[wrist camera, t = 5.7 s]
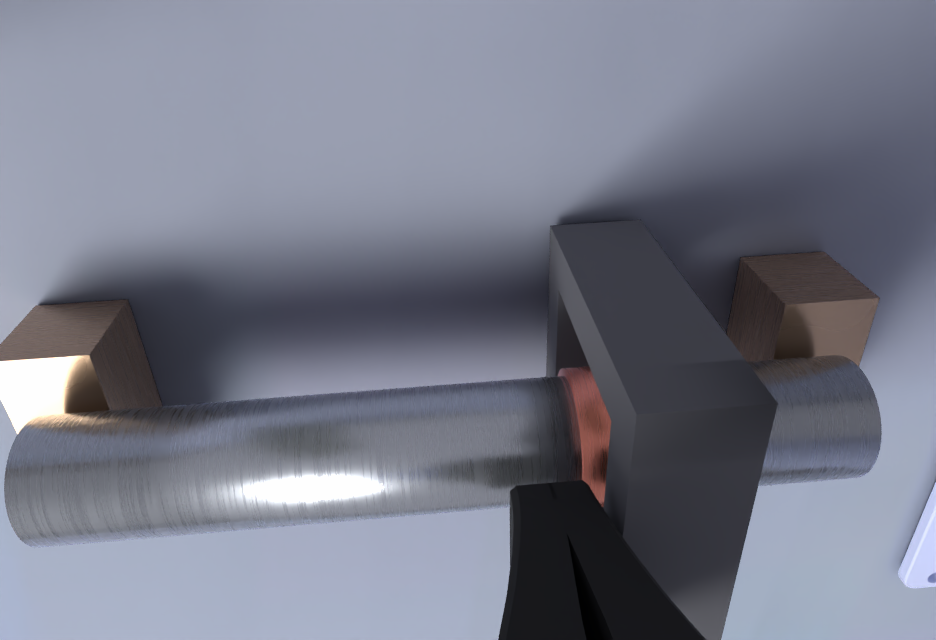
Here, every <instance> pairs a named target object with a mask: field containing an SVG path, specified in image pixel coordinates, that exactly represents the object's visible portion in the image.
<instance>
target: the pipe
mask: <svg viewBox="0 0 936 640" xmlns="http://www.w3.org/2000/svg"><path fill="white" fill-rule="evenodd" d="M879 299H880V298H879V297H878V296H877V295H876V294H874V293H873V292H872V291H871V290H870V289H868V288H867V287H866V286H865V285H863V284H862V283H861V282H860V281H859V280H857V279H856V278H855V277H854V276H853V275H851V274H850V273H849V272H848V271H847V270H845V269H844V268H843V267H842V266H841V265H839V264H838V263H837V262H836V261H835V260H833V259H832V258H831V257H830V256H828V255H827V254H826V253H825V252H812V253H797V254H782V255H768V256H753V257H741V258H740V263H739V269H738V274H737V280H736V285H735V291H734V296H733V302H732V307H731V313H730V318H729V324H728V329H727V336H728V337H729V339H730V340H731V341H732V343H733V344H734V345H735V347H736V348H737V349H738V351H739V352H740V353H741V355H742V356H743V357H744V359H745V360H746V361H747V363H748V364H749V365H750V367H751V368H752V369H753V371H754V372H755V373H756V375H757V376H758V377H759V379H760V380H761V381H762V383H763V384H764V385H765V387H766V388H767V389H768V391H769V392H770V393H771V395H772V396H773V397H774V399H775V400H776V401H777V403H778V405H777V409H776V414H775V418H774V422H773V426H772V430H771V434H770V438H769V443H768V447H767V451H766V455H765V459H764V463H763V467H762V472H761V476H760V480H759V484H758V486H764V485H776V484H788V483H800V482H811V481H823V480H835V479H847V478H857V477H861V476H863V475H865V474H866V473H868V472H869V471H870V470H871V468H872V467H873V465H874V464H875V462H876V459H877V457H878V454H879V450H880V444H881V418H880V412H879V407H878V403H877V400H876V397H875V394H874V391H873V389H872V387H871V385H870V383H869V381H868V379H867V377H866V376H865V374H864V373H863V371H862V370H861V369H860V368H859V364H860V361H861V358H862V355H863V351H864V348H865V345H866V342H867V338H868V335H869V332H870V328H871V325H872V322H873V319H874V315H875V312H876V309H877V306H878V302H879ZM0 398H1V400H2V402H3V405H4V407H5V409H6V411H7V413H8V415H9V417H10V419H11V421H12V424H13V426H14V428H15V430H16V432H17V434H18V435H17V437H16V439H15V441H14V443H13V445H12V448H11V450H10V453H9V457H8V460H7V465H6V471H5V484H4V492H5V503H6V509H7V514H8V517H9V520H10V523H11V525H12V528H13V530H14V531H15V533H16V535H17V536H18V537H19V538H20V540H21V541H23V542H24V543H25V544H27V545H29V546H32V547H49V546H61V545H73V544H84V543H96V542H108V541H120V540H131V539H143V538H155V537H167V536H178V535H190V534H202V533H213V532H225V531H237V530H249V529H260V528H272V527H284V526H296V525H307V524H319V523H331V522H342V521H354V520H366V519H378V518H389V517H401V516H413V515H424V514H436V513H448V512H460V511H471V510H483V509H495V508H507V507H510V490H512V489H513V488H514V487H515V486H517V485H529V484H540V483H552V482H564V481H576V480H583V481H584V482H586V483H587V484H588V485H589V487H590V488H591V490H592V492H593V493H594V495H595V497H596V498H597V500H598V501H599V503H600V505H601V506H602V507H604V497H605V486H606V475H607V463H608V452H609V441H610V430H611V419H610V416H609V414H608V411H607V409H606V407H605V404H604V402H603V399H602V397H601V394H600V392H599V389H598V387H597V384H596V382H595V379H594V377H593V374H592V372H591V369H590V367H589V366H588V367H575V368H562V369H560V371H559V373H558V376H554V377H540V378H527V379H514V380H501V381H488V382H475V383H462V384H449V385H435V386H422V387H409V388H396V389H383V390H370V391H357V392H344V393H330V394H317V395H304V396H291V397H278V398H265V399H252V400H238V401H225V402H212V403H199V404H186V405H173V406H163V405H162V402H161V399H160V396H159V393H158V390H157V387H156V384H155V381H154V378H153V375H152V372H151V369H150V366H149V363H148V360H147V356H146V353H145V350H144V347H143V344H142V341H141V338H140V335H139V332H138V329H137V326H136V323H135V320H134V317H133V314H132V311H131V308H130V305H129V301H128V299H126V300H111V301H97V302H82V303H67V304H53V305H38V306H35V307H34V308H33V309H32V310H31V311H30V313H29V314H28V315H27V316H26V317H25V318H24V319H23V320H22V321H21V322H20V323H19V325H18V326H17V327H16V328H15V329H14V330H13V331H12V332H11V333H10V334H9V336H8V337H7V338H6V339H5V340H4V341H3V342H2V343H1V344H0Z"/></svg>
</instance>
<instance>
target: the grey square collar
mask: <svg viewBox="0 0 936 640" xmlns="http://www.w3.org/2000/svg"><path fill="white" fill-rule="evenodd" d="M588 366H589V367H590V369H591V372H592V374H593V377H594V379H595V382H596V384H597V387H598V389H599V392H600V394H601V397H602V399H603V402H604V404H605V407H606V409H607V411H608V414H609V416H610V419H611V430H610V441H609V452H608V463H607V475H606V486H605V497H604V507H602V508H603V509H604V511H605V512H606V514H607V515H608V517H609V518H610V520H611V521H612V523H613V524H614V526H615V527H616V528H617V530H618V531H619V533H620V534H621V535H622V537H623V538H624V540H625V541H626V542H627V544H628V545H629V547H630V548H631V549H632V551H633V552H634V553H635V555H636V556H637V557H638V559H639V560H640V561H641V562H642V564H643V565H644V566H645V568H646V569H647V570H648V571H649V573H650V574H651V575H652V576H653V578H654V579H655V580H656V582H657V583H658V584H659V585H660V587H661V588H662V589H663V590H664V592H665V593H666V594H667V595H668V596H669V598H670V599H671V600H672V601H673V602H674V604H675V605H676V606H677V607H678V608H679V609H680V610H681V612H682V613H683V614H684V615H685V616H686V617H687V619H688V620H689V621H690V622H691V623H692V624H693V625H694V627H695V628H696V629H697V630H698V631H699V632H700V633H701V634H702V635H703V636H704V638H705V639H706V640H721V638H722V633H723V629H724V625H725V621H726V617H727V613H728V609H729V604H730V600H731V596H732V592H733V588H734V584H735V579H736V575H737V571H738V567H739V563H740V559H741V555H742V550H743V546H744V542H745V538H746V534H747V530H748V526H749V521H750V517H751V513H752V509H753V505H754V501H755V496H756V492H757V488H758V484H759V480H760V476H761V472H762V467H763V463H764V459H765V455H766V451H767V447H768V443H769V438H770V434H771V430H772V426H773V422H774V418H775V414H776V409H777V405H778V403H777V401H776V400H775V399H774V397H773V396H772V395H771V393H770V392H769V391H768V389H767V388H766V387H765V385H764V384H763V383H762V381H761V380H760V379H759V377H758V376H757V375H756V373H755V372H754V371H753V369H752V368H751V367H750V365H749V364H748V363H747V361H746V360H745V359H744V357H743V356H742V355H741V353H740V352H739V351H738V349H737V348H736V347H735V345H734V344H733V343H732V341H731V340H730V339H729V337H728V336H727V335H726V333H725V332H724V331H723V329H722V328H721V327H720V325H719V324H718V323H717V321H716V320H715V319H714V317H713V316H712V315H711V313H710V312H709V311H708V309H707V308H706V307H705V305H704V304H703V303H702V301H701V300H700V299H699V297H698V296H697V295H696V293H695V292H694V291H693V289H692V288H691V287H690V285H689V284H688V283H687V281H686V280H685V279H684V277H683V276H682V275H681V273H680V272H679V271H678V269H677V268H676V267H675V265H674V264H673V263H672V261H671V260H670V259H669V257H668V256H667V255H666V253H665V252H664V251H663V249H662V248H661V247H660V245H659V244H658V243H657V241H656V240H655V239H654V237H653V236H652V235H651V233H650V232H649V231H648V229H647V228H646V227H645V225H644V224H643V223H642V221H641V220H630V221H614V222H599V223H584V224H568V225H553V226H550V258H549V296H548V333H547V371H546V377H554V376H558V373H559V371H560V369H562V368H575V367H588Z"/></svg>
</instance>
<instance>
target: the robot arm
mask: <svg viewBox="0 0 936 640" xmlns="http://www.w3.org/2000/svg"><path fill="white" fill-rule="evenodd" d="M510 565H511V567H510V575H509V583H508V591H507V597H506V603H505V608H504V613H503V618H502V623H501V628H500V634H499V639H498V640H706V639H705V638H704V636H703V635H702V634H701V633H700V632H699V631H698V630H697V629H696V628H695V627H694V625H693V624H692V623H691V622H690V621H689V620H688V619H687V617H686V616H685V615H684V614H683V613H682V612H681V610H680V609H679V608H678V607H677V606H676V605H675V604H674V602H673V601H672V600H671V599H670V598H669V596H668V595H667V594H666V593H665V592H664V590H663V589H662V588H661V587H660V585H659V584H658V583H657V582H656V580H655V579H654V578H653V576H652V575H651V574H650V573H649V571H648V570H647V569H646V568H645V566H644V565H643V564H642V562H641V561H640V560H639V559H638V557H637V556H636V555H635V553H634V552H633V551H632V549H631V548H630V547H629V545H628V544H627V542H626V541H625V540H624V538H623V537H622V535H621V534H620V533H619V531H618V530H617V528H616V527H615V526H614V524H613V523H612V521H611V520H610V518H609V517H608V515H607V514H606V512H605V511H604V509H603V508H602V506H601V505H600V503H599V501H598V500H597V498H596V497H595V495H594V493H593V492H592V490H591V488H590V487H589V485H588V484H587V483H586V482H584V481H583V480H576V481H564V482H552V483H540V484H529V485H517V486H515V487H514V488H513V489H512V490H510ZM898 576H899V577H900V579H901V580H902V582H903V583H904V584H905V586H907V587H909V588H924V587H935V586H936V483H935V485H934V487H933V490H932V492H931V495H930V497H929V499H928V502H927V504H926V507H925V509H924V511H923V514H922V516H921V519H920V521H919V523H918V526H917V528H916V531H915V533H914V535H913V538H912V540H911V543H910V545H909V547H908V550H907V552H906V555H905V557H904V559H903V562H902V564H901V567H900V569H899V572H898Z"/></svg>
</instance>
